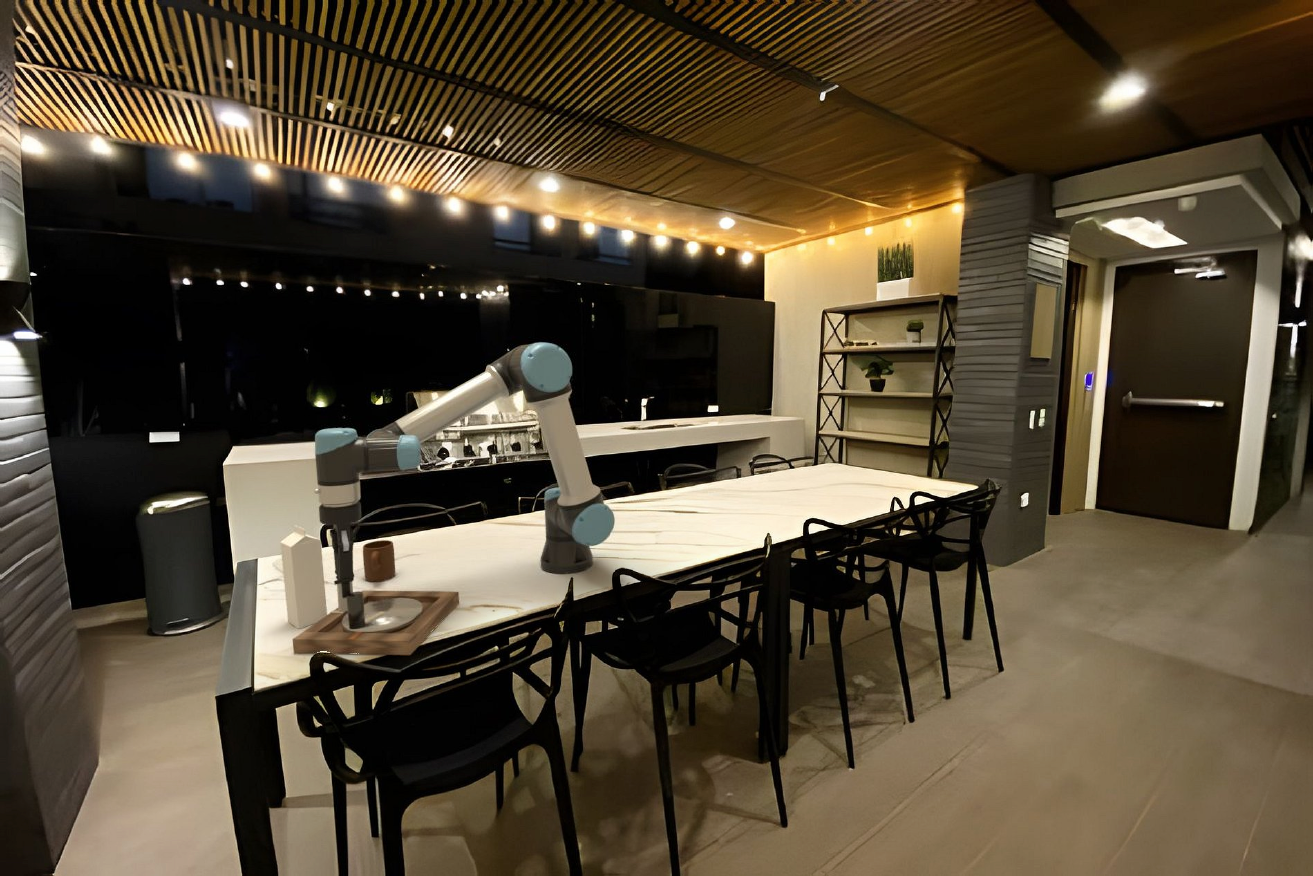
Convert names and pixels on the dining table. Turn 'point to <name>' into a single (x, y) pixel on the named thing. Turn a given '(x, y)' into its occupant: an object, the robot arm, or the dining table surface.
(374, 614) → the dial
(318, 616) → the milk
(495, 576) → the dining table surface
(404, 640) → the board
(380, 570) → the mug
